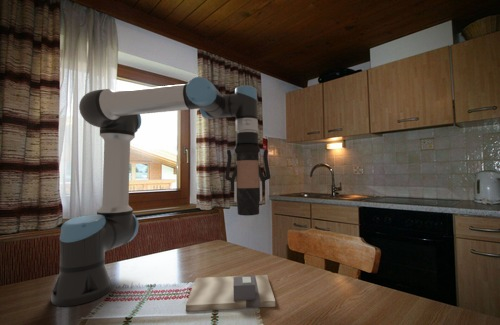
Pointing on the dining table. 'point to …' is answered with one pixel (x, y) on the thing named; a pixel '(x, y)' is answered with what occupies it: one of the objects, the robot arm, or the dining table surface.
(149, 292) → the dining table surface
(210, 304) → the panel
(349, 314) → the dining table surface
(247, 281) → the grey small block
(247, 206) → the travel mug
